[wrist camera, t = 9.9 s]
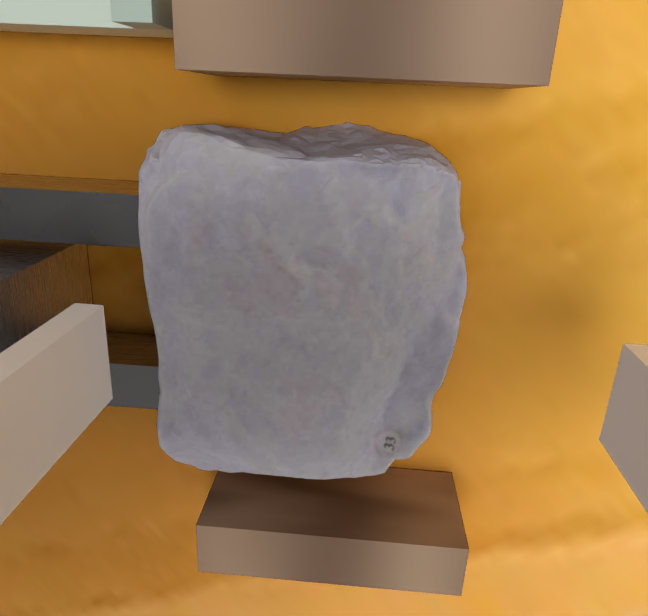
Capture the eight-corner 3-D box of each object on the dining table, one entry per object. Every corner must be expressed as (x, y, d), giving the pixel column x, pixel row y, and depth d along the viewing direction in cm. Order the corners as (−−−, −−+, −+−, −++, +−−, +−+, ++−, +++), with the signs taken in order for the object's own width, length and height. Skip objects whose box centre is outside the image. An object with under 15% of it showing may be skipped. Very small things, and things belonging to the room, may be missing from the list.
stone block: (444, 119, 19) (145, 115, 18) (503, 133, 15) (113, 129, 14) (415, 412, 24) (174, 425, 23) (453, 489, 20) (158, 510, 18)
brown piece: (225, 495, 23) (198, 571, 19) (215, 3, 17) (170, -24, 13) (445, 513, 23) (461, 595, 19) (520, 14, 16) (565, -10, 13)
